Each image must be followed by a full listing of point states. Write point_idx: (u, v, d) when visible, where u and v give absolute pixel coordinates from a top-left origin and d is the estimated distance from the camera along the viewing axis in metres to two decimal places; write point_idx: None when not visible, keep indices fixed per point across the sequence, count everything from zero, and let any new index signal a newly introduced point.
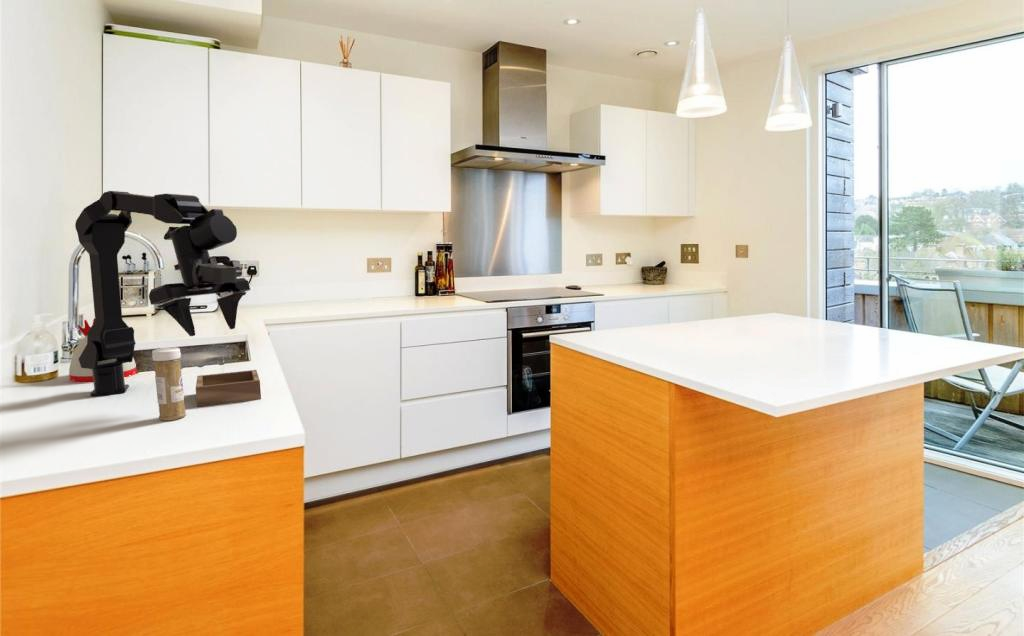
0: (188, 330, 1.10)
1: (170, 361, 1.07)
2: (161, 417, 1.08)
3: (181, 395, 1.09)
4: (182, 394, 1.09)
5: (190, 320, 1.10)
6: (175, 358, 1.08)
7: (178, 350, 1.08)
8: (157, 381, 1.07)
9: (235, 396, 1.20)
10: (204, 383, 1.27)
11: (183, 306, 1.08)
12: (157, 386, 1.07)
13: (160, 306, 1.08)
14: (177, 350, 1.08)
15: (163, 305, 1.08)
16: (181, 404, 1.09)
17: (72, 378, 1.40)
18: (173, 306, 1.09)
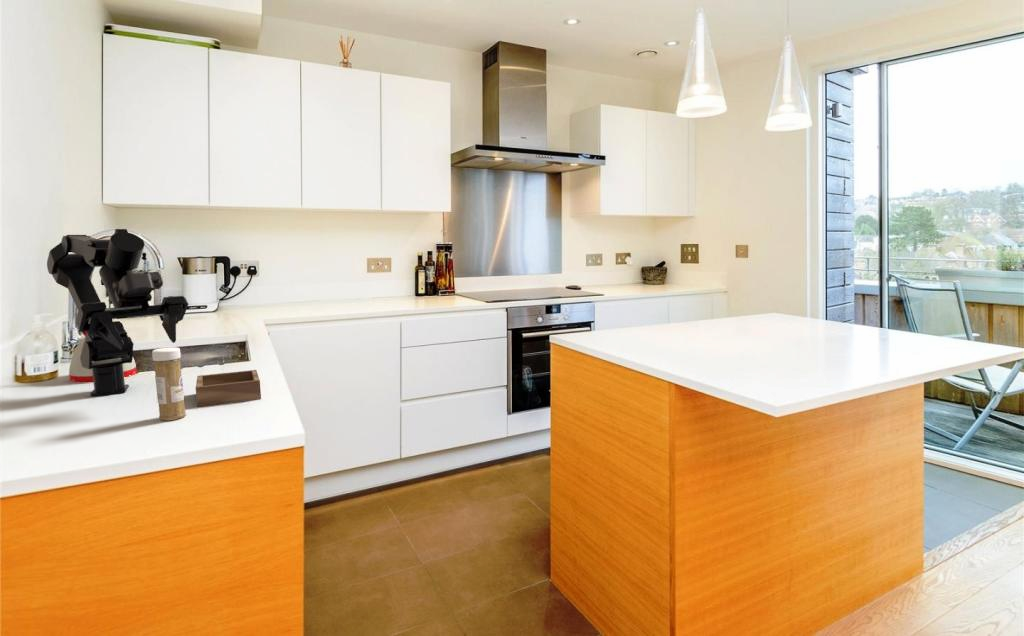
0: (117, 344, 1.10)
1: (170, 361, 1.07)
2: (161, 417, 1.08)
3: (181, 395, 1.09)
4: (182, 394, 1.09)
5: (116, 333, 1.10)
6: (175, 358, 1.08)
7: (178, 350, 1.08)
8: (157, 381, 1.07)
9: (235, 396, 1.20)
10: (204, 383, 1.27)
11: (104, 320, 1.09)
12: (157, 386, 1.07)
13: (88, 330, 1.10)
14: (177, 350, 1.08)
15: (89, 327, 1.10)
16: (181, 404, 1.09)
17: (72, 378, 1.40)
18: (101, 328, 1.11)
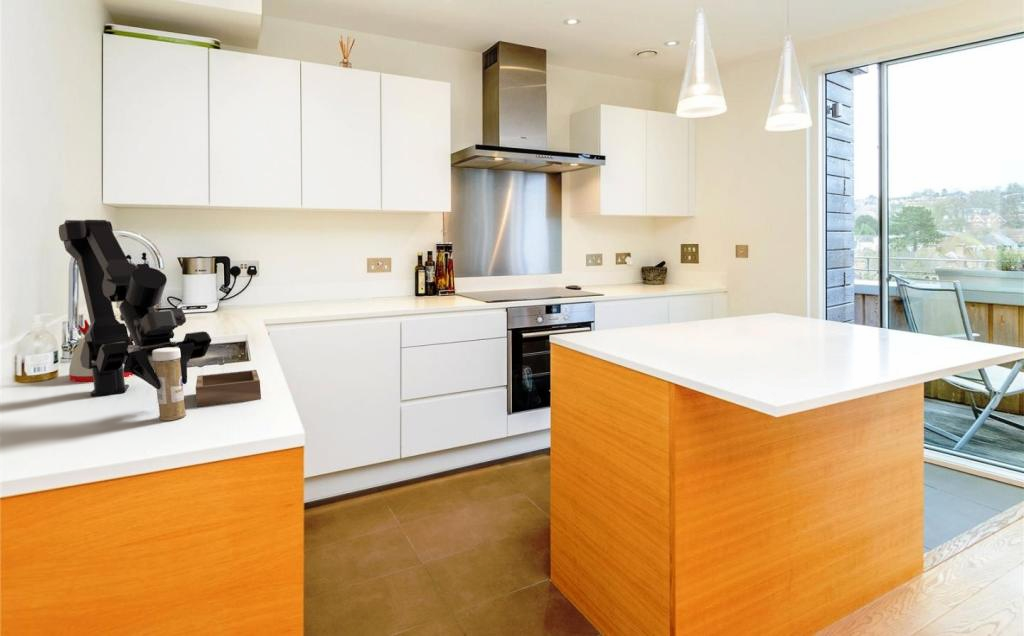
0: (153, 383, 1.07)
1: (170, 361, 1.07)
2: (161, 417, 1.08)
3: (181, 395, 1.09)
4: (182, 394, 1.09)
5: (152, 372, 1.07)
6: (175, 358, 1.08)
7: (178, 350, 1.08)
8: None
9: (235, 396, 1.20)
10: (204, 383, 1.27)
11: (140, 359, 1.06)
12: None
13: (124, 369, 1.07)
14: (177, 350, 1.08)
15: (124, 366, 1.07)
16: (181, 404, 1.09)
17: (72, 378, 1.40)
18: (137, 366, 1.08)
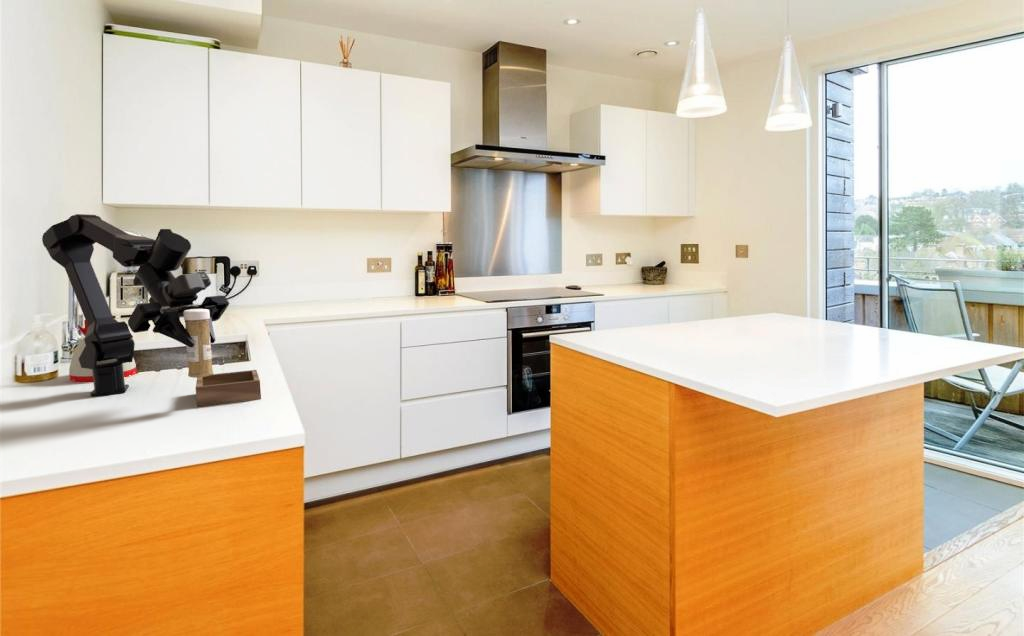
0: (186, 342, 1.12)
1: (203, 320, 1.13)
2: (192, 374, 1.14)
3: (211, 353, 1.16)
4: None
5: (185, 331, 1.12)
6: (207, 318, 1.14)
7: (208, 311, 1.15)
8: None
9: (235, 396, 1.20)
10: (204, 383, 1.27)
11: (173, 319, 1.11)
12: None
13: (154, 329, 1.12)
14: (208, 311, 1.15)
15: (156, 326, 1.11)
16: (210, 362, 1.16)
17: (72, 378, 1.40)
18: (166, 326, 1.13)
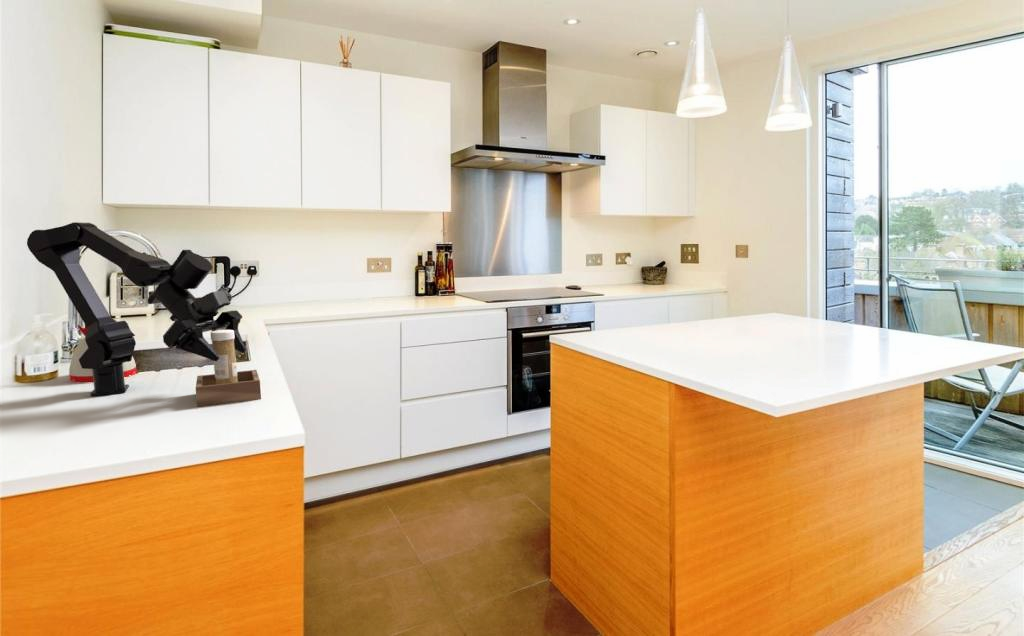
0: (211, 356, 1.19)
1: (231, 340, 1.23)
2: None
3: (236, 370, 1.25)
4: None
5: (209, 346, 1.19)
6: (233, 338, 1.24)
7: (233, 331, 1.24)
8: (219, 359, 1.22)
9: (235, 396, 1.20)
10: (204, 383, 1.27)
11: (198, 335, 1.17)
12: (219, 363, 1.22)
13: (178, 346, 1.17)
14: (233, 331, 1.24)
15: (180, 343, 1.16)
16: (237, 379, 1.25)
17: (72, 378, 1.40)
18: (188, 343, 1.18)
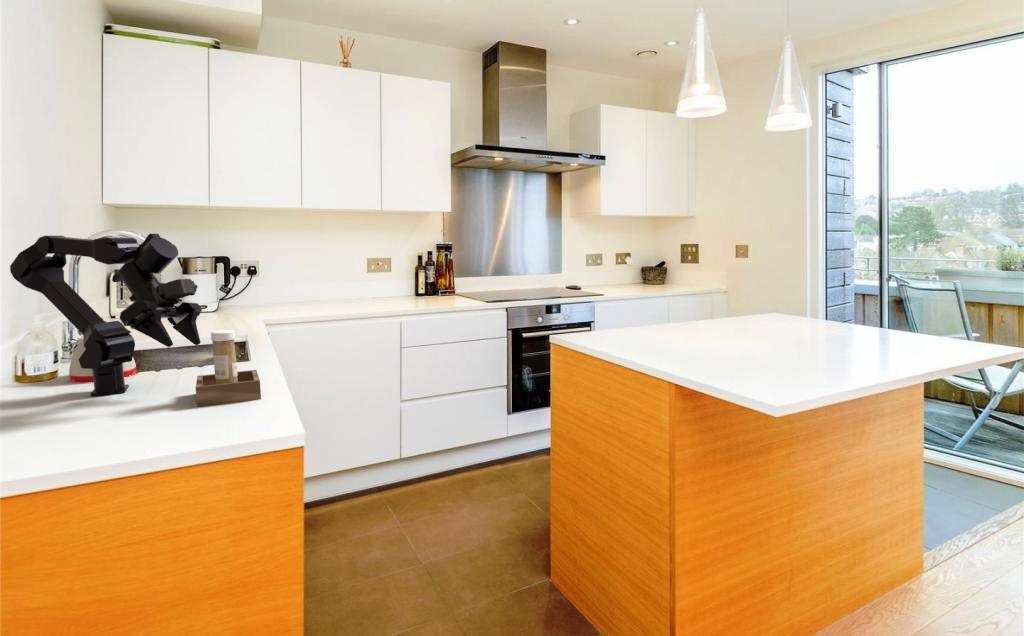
0: (165, 341, 1.18)
1: (231, 340, 1.23)
2: None
3: None
4: None
5: (165, 331, 1.18)
6: (234, 338, 1.23)
7: None
8: (219, 359, 1.22)
9: (235, 396, 1.20)
10: (204, 383, 1.27)
11: (156, 318, 1.17)
12: (219, 364, 1.22)
13: (133, 325, 1.15)
14: None
15: (137, 322, 1.15)
16: (237, 378, 1.25)
17: (72, 378, 1.40)
18: (144, 324, 1.17)
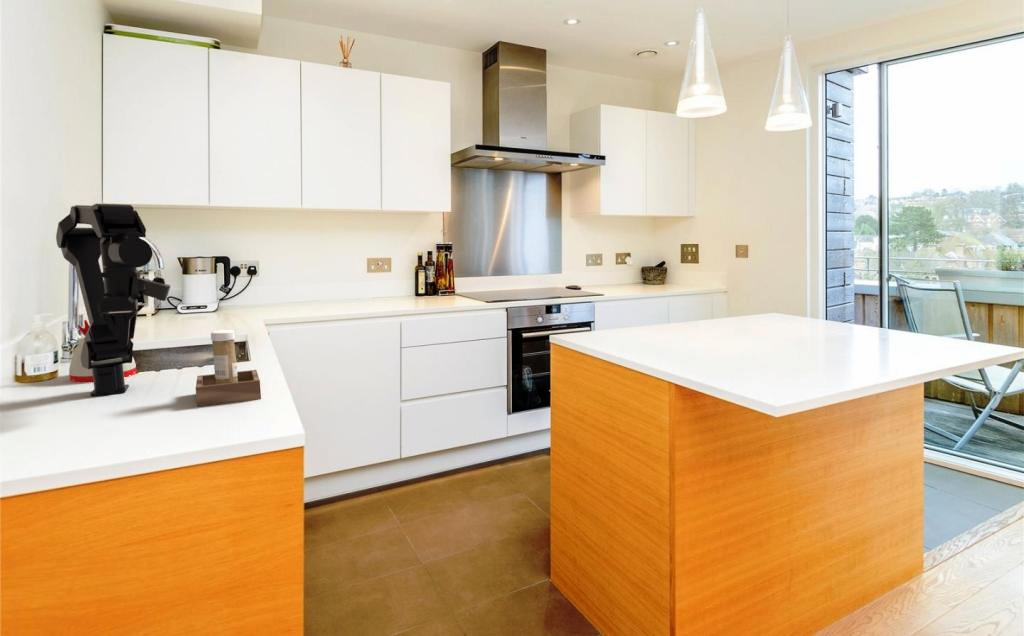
0: (122, 340, 1.14)
1: (231, 340, 1.23)
2: None
3: None
4: None
5: (128, 331, 1.14)
6: (234, 338, 1.23)
7: None
8: (219, 359, 1.22)
9: (235, 396, 1.20)
10: (204, 383, 1.27)
11: (131, 318, 1.13)
12: (219, 364, 1.22)
13: (106, 315, 1.10)
14: (233, 331, 1.24)
15: (111, 314, 1.10)
16: (237, 379, 1.25)
17: (72, 378, 1.40)
18: (113, 315, 1.12)
